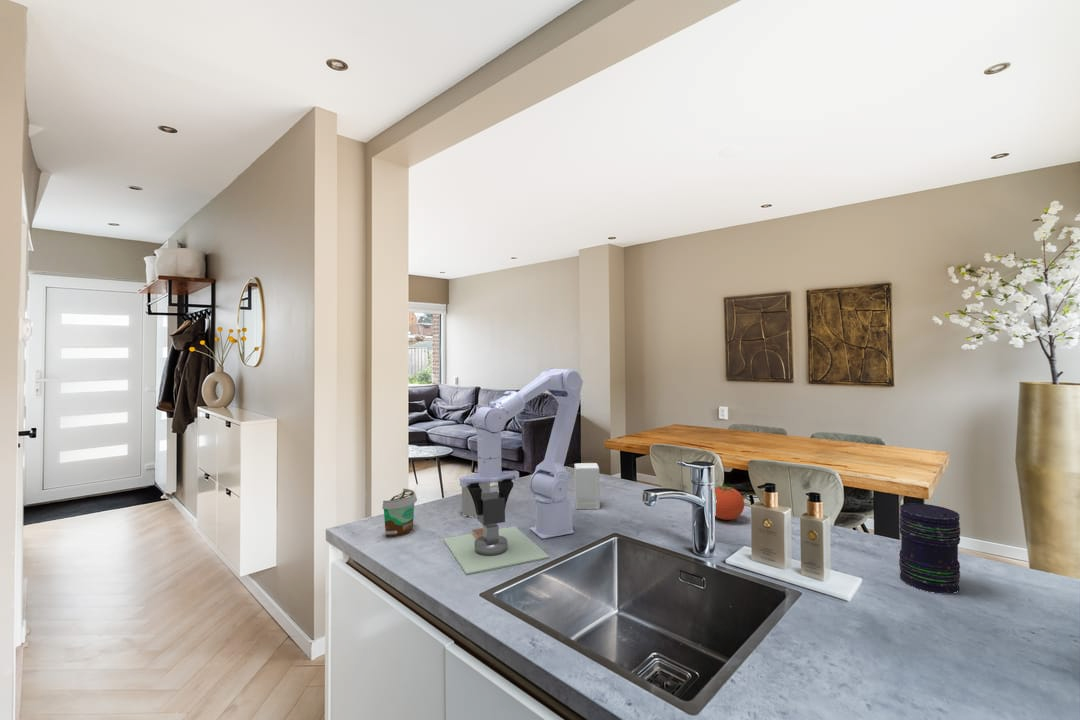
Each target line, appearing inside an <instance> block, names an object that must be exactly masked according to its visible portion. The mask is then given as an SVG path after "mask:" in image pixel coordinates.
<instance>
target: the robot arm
mask: <svg viewBox="0 0 1080 720" xmlns="http://www.w3.org/2000/svg"><path fill="white" fill-rule="evenodd" d="M583 383H584V380H583V379H582V377H581V374H580V372H579V371H578V370H577V369H574V368H555V367H548V368H547V369H545V370H544V371H541V372H540V374H539V376H537V377H536V378H535V379H533V380H532V381H530V382H529V383H528V384H526V385H525V386H524V387H522V388H521V389H520V390H519V391H514V390H510V391H509V390H507V391H505V392H503V396H501V397H500V398H498V399H496V400H495V401H493V400H492V401H490V402H489V405H488V406H481V407H479V408H478V409H477V410H476V411H475V412H474V415H473V418H472V419H471V422H472V426H473V427H474V428H475V430H476V436H477V438H476V440H477V445H476V446H477V473H475V474H470V475H466V476H460V477H459V486H460V487H461V488H462V487H466V486H467V488H468V490H469V492H470V494H471V496H472V499H473V502H474V505H475V509H476V514H477V515H481V494H482V489H481V488H480V486H479V484H484V483H490V484H491V483H497V487H498V493H500V494H501V495H502V496H504V497H505V508H506V506H507V502H508V500H509V499H508V498H509V496H510V493H511V491H512V489H513V488H514V482H513V480H514V481H518V480H519V481H520V472H519V471H518V470H502V430H504V428H505V427H506V423H507V422H508V421H509V420H511V419H512V418H514V417H516V416H517V415H519V414H520V413H521V412H522V411H524V409H525V405H526V403H527V402H529V401H531V400H533V399H535V398H536V397H538V396H539V395H542V394H543V393H545V392H546V391H547V392H548V393H549V394H550V395H551V396H552V398H554V399H555V401H556V402H557V403H558V406H557V410H556V415H555V418H554V422H553V424H552V428H551V432H550V437H549V440H548V444H547V448H546V450H545V451H546V452H545V456H544V459H543V460H542V461H541V462H540V463H539V464H537V465H536V466H535V470H534V472H533V474H532V475H531V477H530V478H529V481H528V482H529V483H528V485H529V490H530V492H531V493H533V498H535V501H534V502H535V526H531V527H529V530H530V531H531V532H533V534H535V535H536V536H538V537H539V538H540V539H542V540H544V539H549V538H554V537H558V536H564V535H570V534H573V533H575V531H574V530H573V505H572V502H571V500H570V498H569V497H568V496H567V494H568V491H569V477H570V474H569V472H568V470H567V469H566V467H565V466H564V465H565V463H566V458H567V453H568V451H569V447H570V442H571V439H572V434H573V431H574V428H575V423H576V419H577V415H578V411H579V407H580V403H581V400H580V399H581V398H580V397H581V396H580V394H581V390H582V386H583Z"/></svg>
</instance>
